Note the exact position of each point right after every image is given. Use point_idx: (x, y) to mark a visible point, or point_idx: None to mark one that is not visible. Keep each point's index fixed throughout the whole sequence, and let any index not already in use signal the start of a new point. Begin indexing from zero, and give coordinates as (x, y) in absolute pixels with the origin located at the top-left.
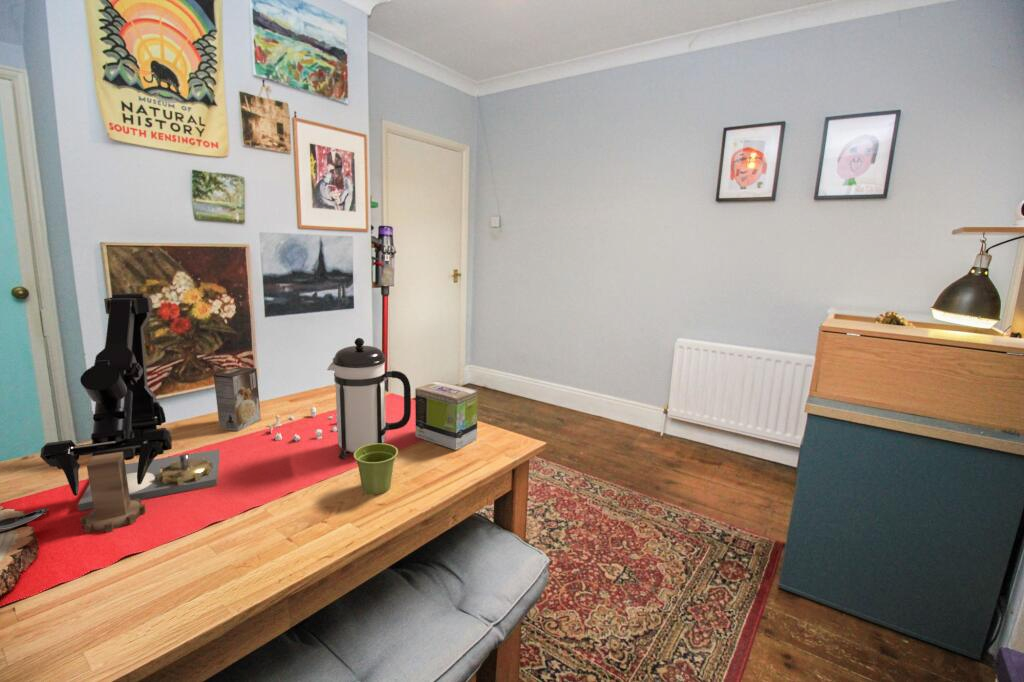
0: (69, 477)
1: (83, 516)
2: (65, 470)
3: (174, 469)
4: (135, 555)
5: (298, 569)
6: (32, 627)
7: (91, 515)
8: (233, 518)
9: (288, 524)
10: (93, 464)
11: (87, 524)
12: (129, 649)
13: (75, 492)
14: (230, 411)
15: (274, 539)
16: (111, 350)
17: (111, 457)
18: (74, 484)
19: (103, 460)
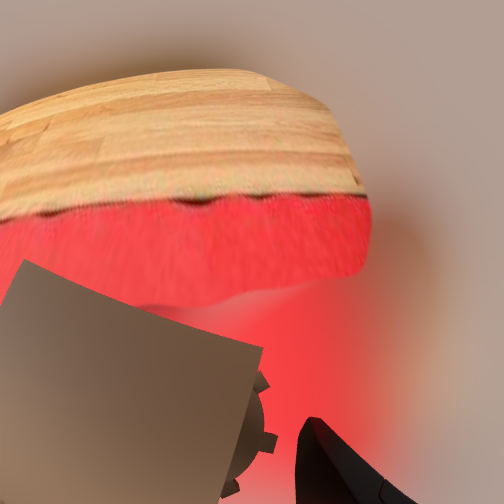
0: (363, 468)
1: (269, 449)
2: (404, 501)
3: (2, 501)
4: (186, 196)
5: (85, 91)
6: (324, 137)
7: (246, 440)
8: (28, 209)
9: (20, 153)
10: (192, 345)
11: (261, 382)
12: (237, 78)
13: (311, 419)
14: None
15: (51, 133)
16: None
17: (22, 410)
18: (324, 439)
19: (87, 394)
